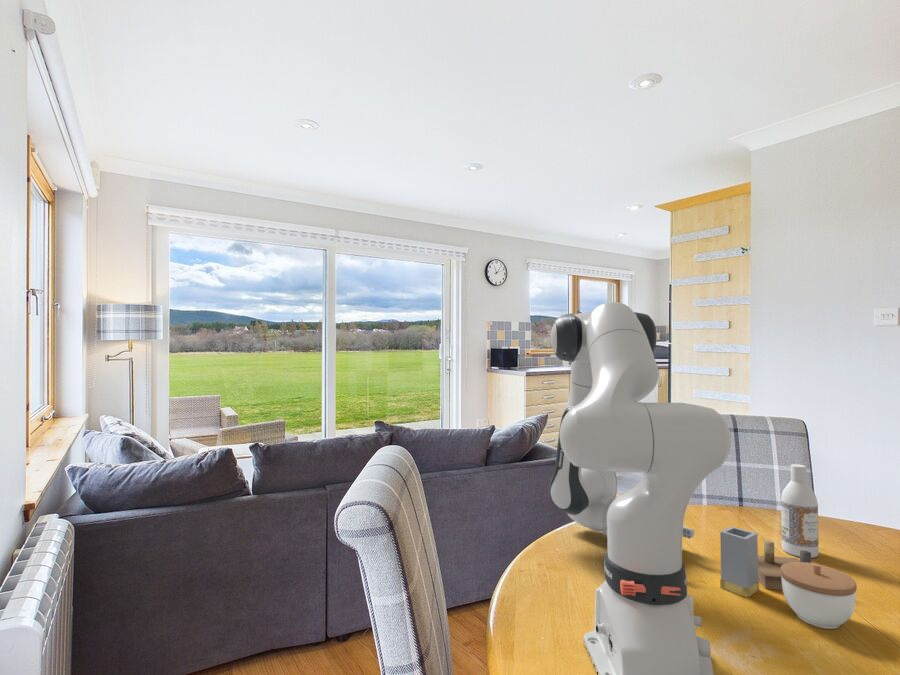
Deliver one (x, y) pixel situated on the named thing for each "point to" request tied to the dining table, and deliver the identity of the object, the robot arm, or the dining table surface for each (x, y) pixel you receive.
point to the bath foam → (799, 515)
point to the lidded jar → (818, 593)
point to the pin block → (775, 566)
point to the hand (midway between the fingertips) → (681, 539)
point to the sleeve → (739, 561)
